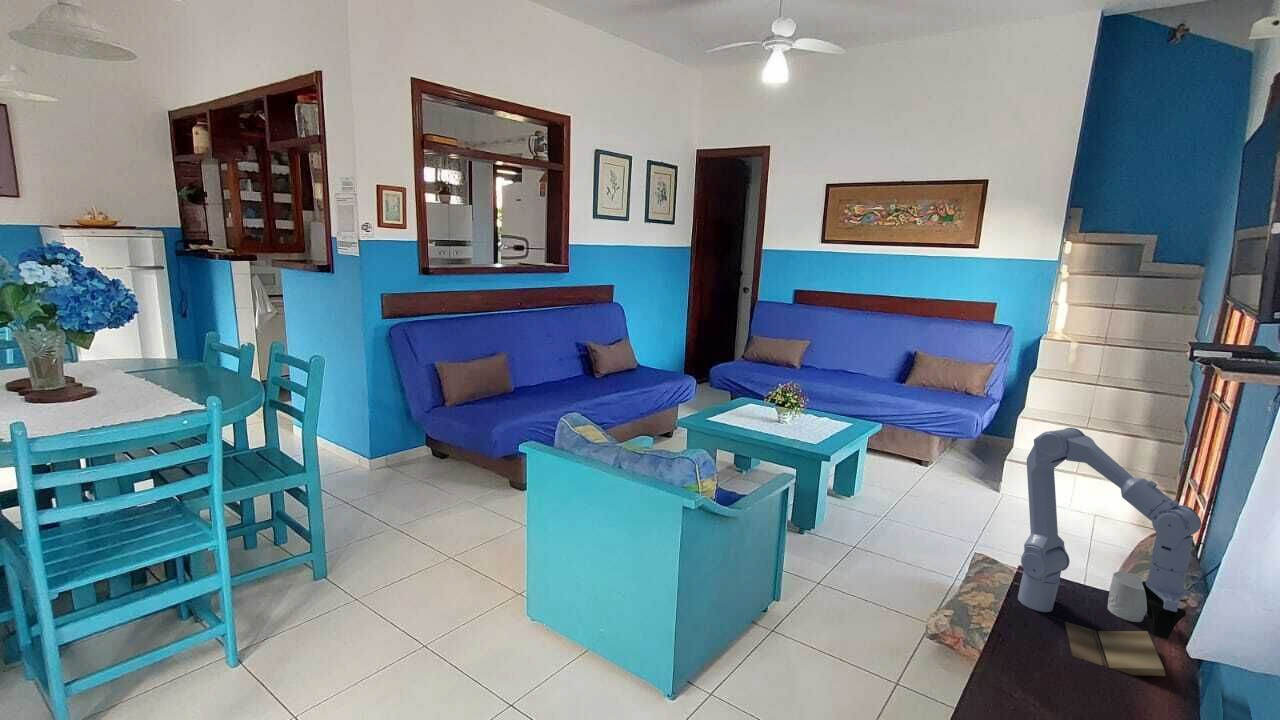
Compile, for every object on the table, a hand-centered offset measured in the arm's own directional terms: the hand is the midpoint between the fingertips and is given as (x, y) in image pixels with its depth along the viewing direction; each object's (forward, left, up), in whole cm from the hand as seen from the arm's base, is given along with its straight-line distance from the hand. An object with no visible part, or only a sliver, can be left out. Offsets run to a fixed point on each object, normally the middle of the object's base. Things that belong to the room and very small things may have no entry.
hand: (1157, 627), depth 131 cm
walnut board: (-1, -11, -10) cm, 15 cm away
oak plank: (-1, -3, -8) cm, 9 cm away
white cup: (-21, 0, -10) cm, 23 cm away
